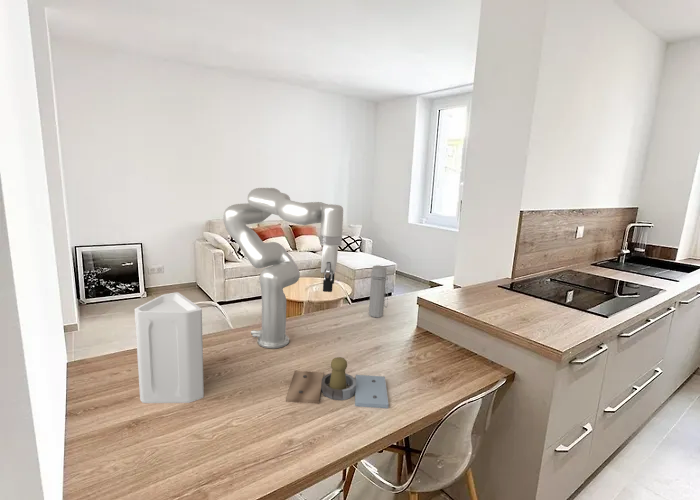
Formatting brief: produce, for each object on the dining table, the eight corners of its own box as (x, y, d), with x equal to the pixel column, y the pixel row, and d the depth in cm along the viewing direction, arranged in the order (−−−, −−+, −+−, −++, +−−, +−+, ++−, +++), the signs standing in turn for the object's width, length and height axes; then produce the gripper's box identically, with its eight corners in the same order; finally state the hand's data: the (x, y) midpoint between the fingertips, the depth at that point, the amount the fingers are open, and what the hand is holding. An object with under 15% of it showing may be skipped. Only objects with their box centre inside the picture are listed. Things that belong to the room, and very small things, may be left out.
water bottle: (367, 317, 183) (371, 268, 178) (369, 311, 191) (372, 264, 186) (386, 319, 182) (390, 270, 177) (387, 314, 189) (391, 266, 184)
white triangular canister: (131, 386, 116) (125, 300, 110) (180, 371, 126) (177, 291, 120) (151, 417, 103) (146, 321, 97) (204, 397, 113) (202, 309, 107)
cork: (349, 388, 122) (351, 357, 120) (343, 398, 117) (345, 365, 114) (332, 383, 124) (333, 353, 122) (325, 393, 118) (326, 361, 116)
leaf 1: (285, 401, 113) (286, 392, 112) (294, 373, 129) (294, 365, 128) (341, 405, 113) (341, 396, 112) (343, 377, 128) (343, 369, 128)
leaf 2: (340, 405, 113) (341, 396, 112) (342, 376, 128) (343, 368, 128) (388, 408, 113) (388, 399, 112) (384, 379, 128) (385, 371, 128)
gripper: (322, 235, 139) (320, 279, 142) (317, 244, 122) (315, 294, 125) (342, 236, 139) (340, 281, 142) (340, 245, 122) (337, 295, 125)
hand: (328, 287), depth 134 cm, fingers open, 9 cm apart
